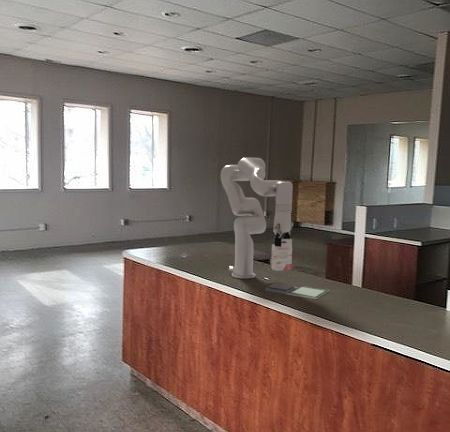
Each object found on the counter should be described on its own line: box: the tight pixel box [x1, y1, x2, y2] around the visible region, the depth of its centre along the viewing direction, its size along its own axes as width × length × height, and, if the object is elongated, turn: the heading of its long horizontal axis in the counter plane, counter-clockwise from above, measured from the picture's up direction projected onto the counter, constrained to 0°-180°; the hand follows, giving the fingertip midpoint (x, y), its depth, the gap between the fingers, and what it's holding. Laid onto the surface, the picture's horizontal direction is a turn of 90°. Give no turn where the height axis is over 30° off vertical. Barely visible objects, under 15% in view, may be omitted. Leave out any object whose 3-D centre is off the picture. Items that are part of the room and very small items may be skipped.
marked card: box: [286, 285, 330, 300], centre depth 226 cm, size 14×17×1 cm
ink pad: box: [265, 282, 297, 295], centre depth 230 cm, size 11×10×2 cm
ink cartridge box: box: [270, 238, 293, 272], centre depth 228 cm, size 9×5×15 cm, turn 105°
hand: (282, 244), depth 227 cm, fingers closed on ink cartridge box, 9 cm apart
